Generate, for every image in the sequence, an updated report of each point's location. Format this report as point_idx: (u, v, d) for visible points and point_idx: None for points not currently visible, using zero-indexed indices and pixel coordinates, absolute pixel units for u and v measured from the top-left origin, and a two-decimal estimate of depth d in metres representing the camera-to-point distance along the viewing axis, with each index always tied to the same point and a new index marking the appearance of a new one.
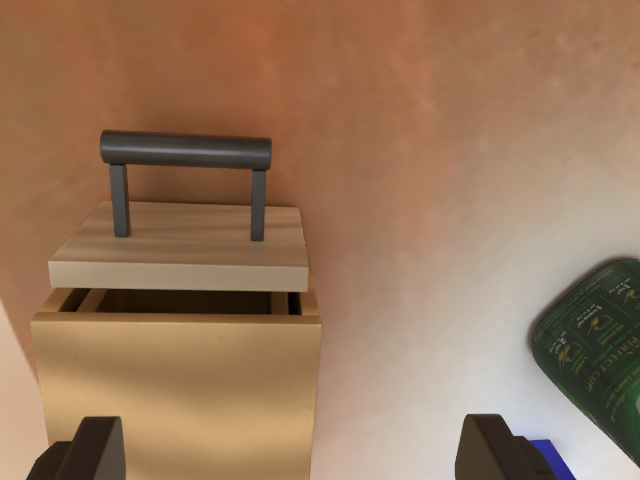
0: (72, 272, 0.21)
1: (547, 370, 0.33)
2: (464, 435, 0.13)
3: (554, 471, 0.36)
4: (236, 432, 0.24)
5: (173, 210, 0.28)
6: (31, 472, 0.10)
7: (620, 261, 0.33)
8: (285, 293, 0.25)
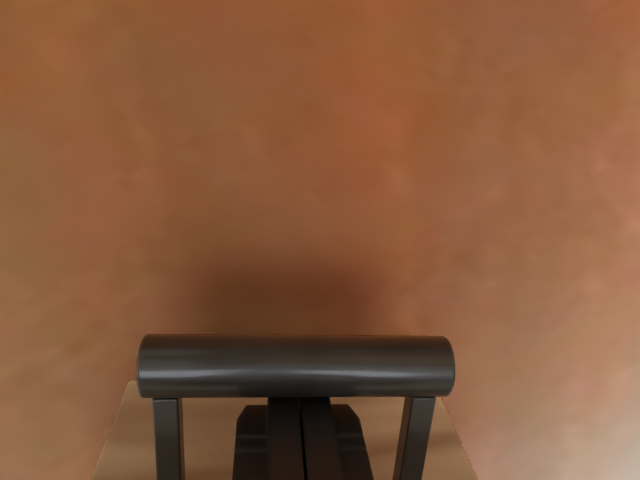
0: None
1: None
2: None
3: None
4: None
5: (244, 404, 0.17)
6: (237, 430, 0.12)
7: None
8: None
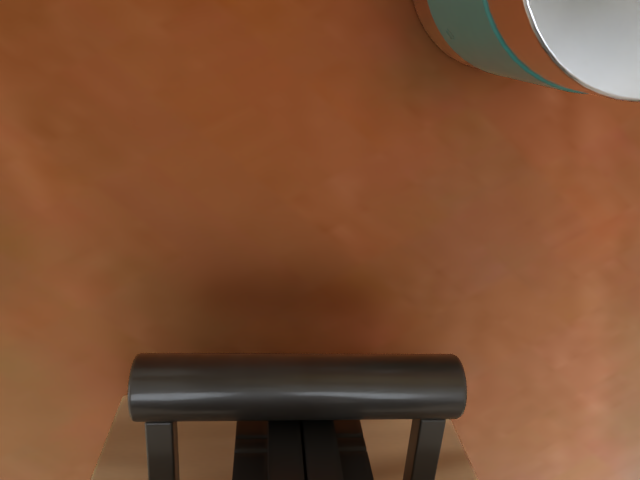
0: None
1: None
2: None
3: None
4: None
5: None
6: (237, 430, 0.12)
7: None
8: None
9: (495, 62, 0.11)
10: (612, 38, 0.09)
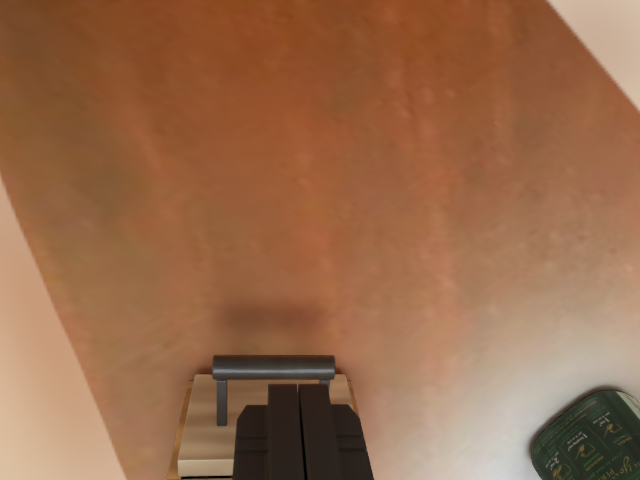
0: (194, 466, 0.30)
1: None
2: None
3: None
4: None
5: (251, 385, 0.36)
6: (237, 430, 0.12)
7: (602, 393, 0.41)
8: None
9: None
10: None
